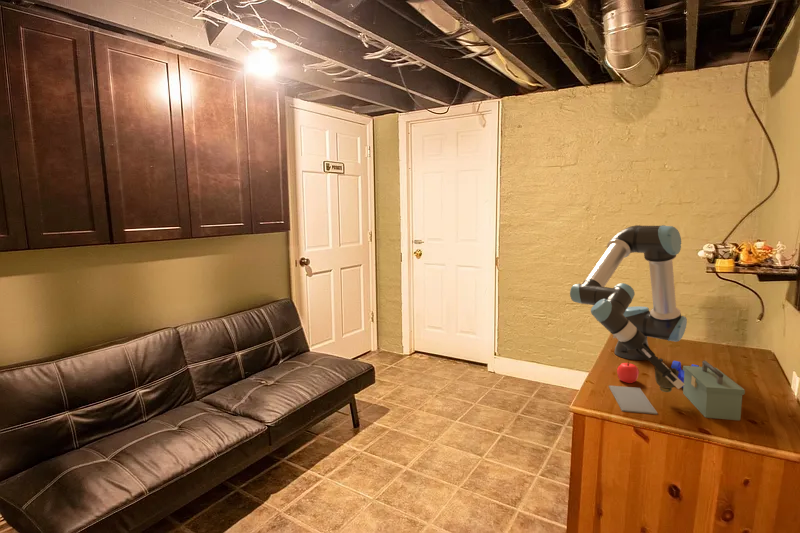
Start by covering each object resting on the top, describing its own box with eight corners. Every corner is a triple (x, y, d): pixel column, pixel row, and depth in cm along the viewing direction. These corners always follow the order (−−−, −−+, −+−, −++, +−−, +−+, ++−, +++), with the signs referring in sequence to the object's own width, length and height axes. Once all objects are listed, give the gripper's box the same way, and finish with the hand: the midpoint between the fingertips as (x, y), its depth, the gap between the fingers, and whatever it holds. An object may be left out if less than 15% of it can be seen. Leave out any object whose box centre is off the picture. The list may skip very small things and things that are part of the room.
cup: (679, 390, 158) (681, 368, 156) (675, 396, 152) (676, 374, 151) (656, 384, 162) (657, 364, 161) (651, 391, 157) (652, 369, 156)
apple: (629, 386, 173) (630, 366, 172) (612, 379, 180) (612, 360, 179) (643, 382, 176) (644, 363, 175) (625, 376, 183) (626, 357, 182)
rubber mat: (608, 386, 173) (608, 385, 172) (639, 389, 170) (639, 387, 170) (621, 411, 151) (622, 409, 151) (657, 414, 149) (657, 413, 149)
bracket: (694, 390, 168) (696, 368, 167) (669, 385, 174) (671, 363, 172) (704, 377, 181) (705, 356, 179) (680, 372, 186) (682, 352, 185)
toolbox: (680, 392, 166) (683, 356, 164) (714, 395, 163) (717, 358, 161) (703, 417, 146) (706, 376, 144) (742, 421, 143) (745, 378, 141)
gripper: (614, 334, 169) (659, 377, 167) (627, 351, 149) (678, 400, 147) (630, 321, 167) (675, 365, 165) (645, 336, 147) (697, 386, 145)
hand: (676, 381), depth 156 cm, fingers closed on cup, 7 cm apart
